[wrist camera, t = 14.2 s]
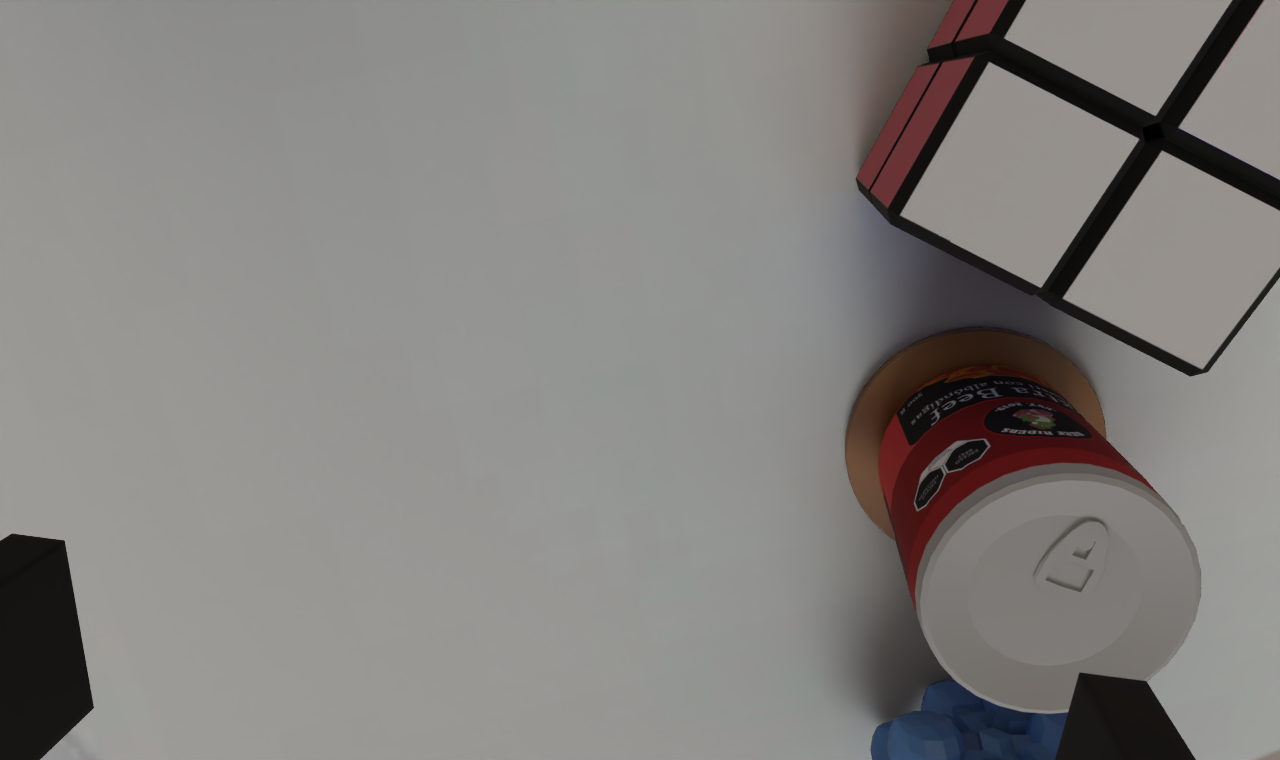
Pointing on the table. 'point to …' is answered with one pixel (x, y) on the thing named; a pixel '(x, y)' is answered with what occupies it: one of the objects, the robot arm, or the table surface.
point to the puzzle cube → (1100, 161)
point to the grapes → (967, 730)
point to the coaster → (926, 364)
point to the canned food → (1031, 541)
